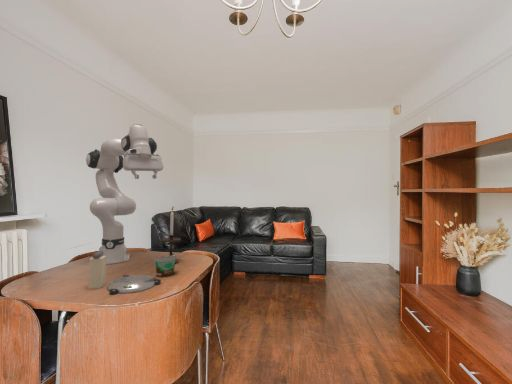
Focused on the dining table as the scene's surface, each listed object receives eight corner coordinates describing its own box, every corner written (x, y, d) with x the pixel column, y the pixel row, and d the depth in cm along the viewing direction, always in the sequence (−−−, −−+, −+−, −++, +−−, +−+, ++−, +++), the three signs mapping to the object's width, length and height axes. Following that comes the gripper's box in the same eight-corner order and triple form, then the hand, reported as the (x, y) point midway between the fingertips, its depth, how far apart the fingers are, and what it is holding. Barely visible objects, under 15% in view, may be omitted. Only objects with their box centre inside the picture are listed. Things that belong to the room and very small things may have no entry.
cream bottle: (93, 284, 118) (94, 250, 118) (105, 283, 119) (106, 250, 119) (88, 289, 112) (89, 253, 112) (100, 288, 113) (101, 253, 113)
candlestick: (183, 262, 159) (185, 205, 160) (169, 266, 150) (170, 206, 150) (172, 259, 165) (173, 205, 165) (157, 263, 156) (159, 205, 156)
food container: (161, 279, 126) (162, 259, 127) (153, 277, 130) (154, 257, 130) (181, 273, 137) (181, 254, 137) (173, 271, 140) (173, 252, 140)
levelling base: (116, 278, 126) (116, 273, 126) (163, 276, 131) (163, 271, 131) (99, 295, 105) (100, 289, 105) (156, 292, 110) (157, 286, 110)
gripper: (157, 156, 146) (161, 179, 144) (119, 154, 131) (123, 180, 129) (163, 152, 142) (167, 176, 140) (124, 150, 127) (128, 177, 125)
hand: (146, 178), depth 134 cm, fingers open, 8 cm apart
